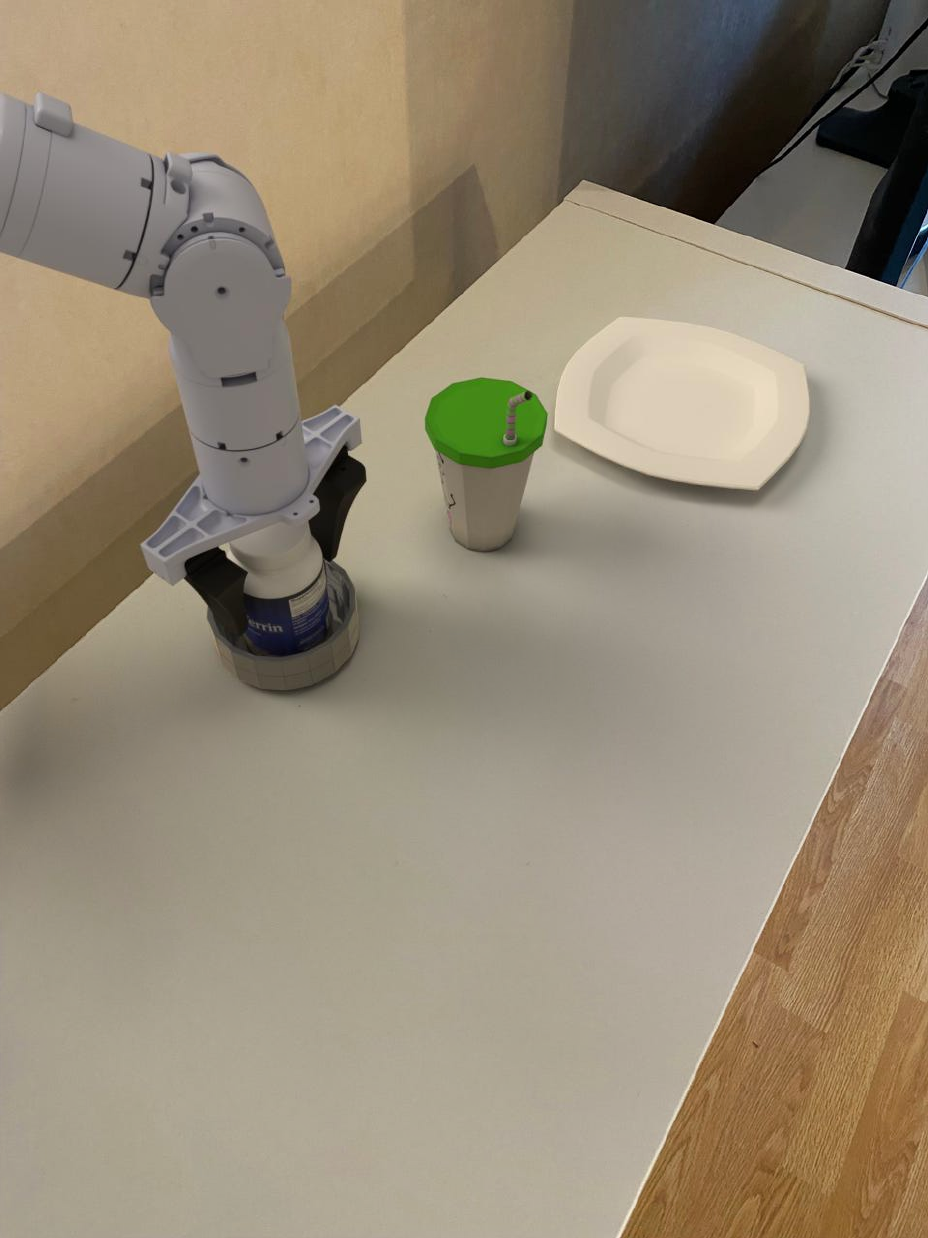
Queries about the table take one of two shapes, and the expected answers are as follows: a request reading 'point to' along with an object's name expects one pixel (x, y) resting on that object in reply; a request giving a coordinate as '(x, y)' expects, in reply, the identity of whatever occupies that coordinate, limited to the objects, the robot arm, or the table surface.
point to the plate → (684, 403)
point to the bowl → (303, 665)
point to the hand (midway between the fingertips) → (278, 587)
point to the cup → (484, 455)
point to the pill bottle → (283, 590)
